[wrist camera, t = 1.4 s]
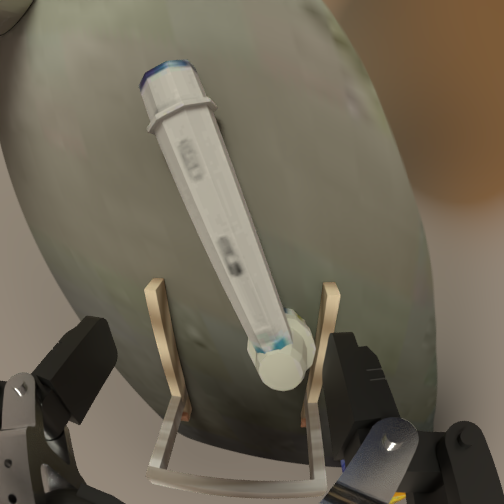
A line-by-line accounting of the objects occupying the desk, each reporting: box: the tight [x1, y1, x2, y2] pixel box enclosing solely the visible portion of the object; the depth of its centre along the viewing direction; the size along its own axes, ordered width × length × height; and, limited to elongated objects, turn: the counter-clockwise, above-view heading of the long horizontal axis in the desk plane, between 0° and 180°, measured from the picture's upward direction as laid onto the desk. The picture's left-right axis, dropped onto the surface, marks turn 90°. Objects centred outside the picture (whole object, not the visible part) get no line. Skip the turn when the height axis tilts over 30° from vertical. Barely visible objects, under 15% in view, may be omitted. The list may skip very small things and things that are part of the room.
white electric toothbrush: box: [139, 60, 316, 391], centre depth 19 cm, size 5×7×25 cm
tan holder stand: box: [144, 278, 340, 499], centre depth 20 cm, size 18×16×12 cm
